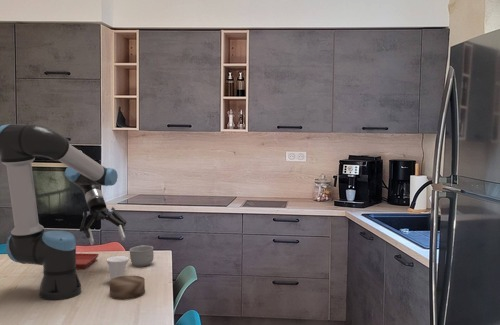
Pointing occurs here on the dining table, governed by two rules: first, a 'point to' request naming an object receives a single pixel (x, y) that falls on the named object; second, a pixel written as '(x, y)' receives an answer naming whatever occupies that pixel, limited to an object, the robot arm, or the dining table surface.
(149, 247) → the teacup
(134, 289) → the walnut stand
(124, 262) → the cup
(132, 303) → the dining table surface
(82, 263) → the plant saucer
